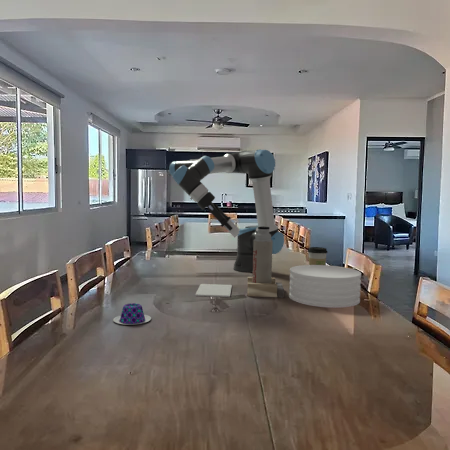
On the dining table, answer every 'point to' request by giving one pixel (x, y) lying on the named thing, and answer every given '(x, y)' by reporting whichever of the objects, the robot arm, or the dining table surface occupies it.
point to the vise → (265, 289)
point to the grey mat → (214, 290)
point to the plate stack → (325, 286)
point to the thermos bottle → (262, 256)
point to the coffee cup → (317, 255)
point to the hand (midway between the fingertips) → (237, 233)
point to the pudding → (132, 315)
